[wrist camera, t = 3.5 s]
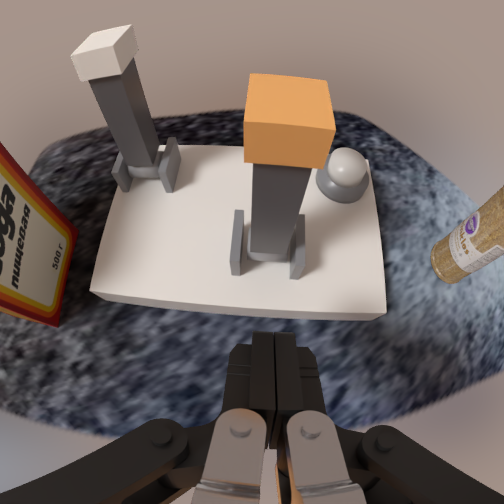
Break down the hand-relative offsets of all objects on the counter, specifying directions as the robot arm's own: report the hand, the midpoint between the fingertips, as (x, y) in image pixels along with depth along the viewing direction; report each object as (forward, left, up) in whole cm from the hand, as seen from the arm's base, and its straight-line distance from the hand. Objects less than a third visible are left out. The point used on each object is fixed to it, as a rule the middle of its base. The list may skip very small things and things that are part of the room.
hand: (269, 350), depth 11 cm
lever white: (+10, -14, -8) cm, 19 cm away
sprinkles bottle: (-18, -9, -12) cm, 23 cm away
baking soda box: (+21, -5, -12) cm, 25 cm away
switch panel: (+2, -10, -11) cm, 16 cm away
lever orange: (0, -7, -8) cm, 11 cm away
